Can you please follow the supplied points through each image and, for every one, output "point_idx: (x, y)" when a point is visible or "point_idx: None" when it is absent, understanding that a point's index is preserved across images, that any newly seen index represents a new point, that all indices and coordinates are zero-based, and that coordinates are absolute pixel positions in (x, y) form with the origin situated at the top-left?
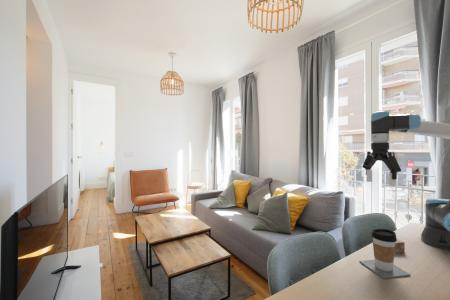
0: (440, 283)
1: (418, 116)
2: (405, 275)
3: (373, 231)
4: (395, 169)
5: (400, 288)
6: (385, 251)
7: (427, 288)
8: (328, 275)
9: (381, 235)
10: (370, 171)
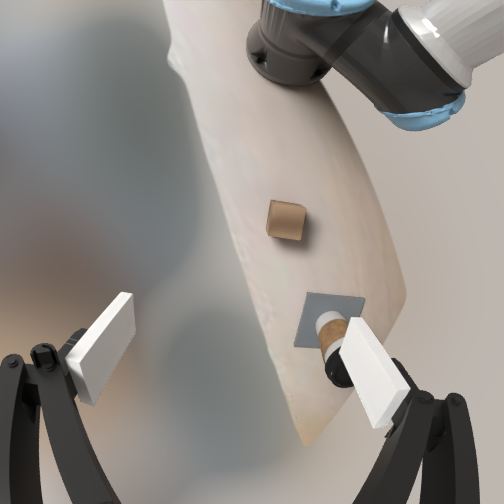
0: (395, 270)
1: None
2: (361, 308)
3: (337, 385)
4: (434, 440)
5: None
6: None
7: (390, 305)
8: (301, 405)
9: None
10: (93, 366)
